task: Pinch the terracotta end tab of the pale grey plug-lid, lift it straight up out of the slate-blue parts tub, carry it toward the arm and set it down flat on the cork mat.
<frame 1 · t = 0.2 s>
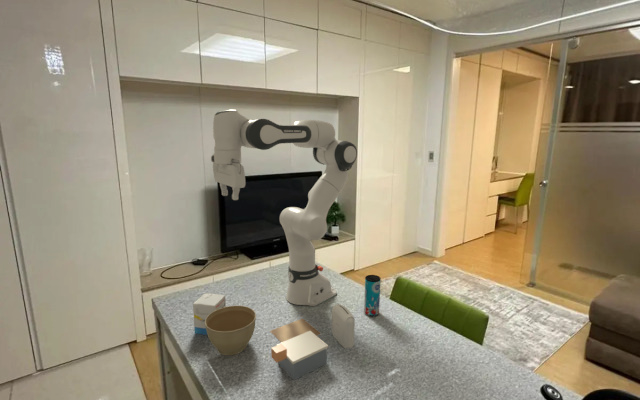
hand: (229, 197, 117), 48 cm above the table, fingers open, 8 cm apart
tub: (302, 364, 103), on the table
planter bowl: (232, 347, 111), on the table
beverage can: (371, 313, 133), on the table
lid: (302, 347, 102), point 6 cm above the table, touching tub
photo printer: (342, 341, 115), on the table
part a: (307, 356, 106), point 1 cm above the table, touching tub
part b: (296, 369, 100), point 1 cm above the table, touching tub
ink box: (211, 328, 122), on the table
mat: (295, 333, 119), on the table
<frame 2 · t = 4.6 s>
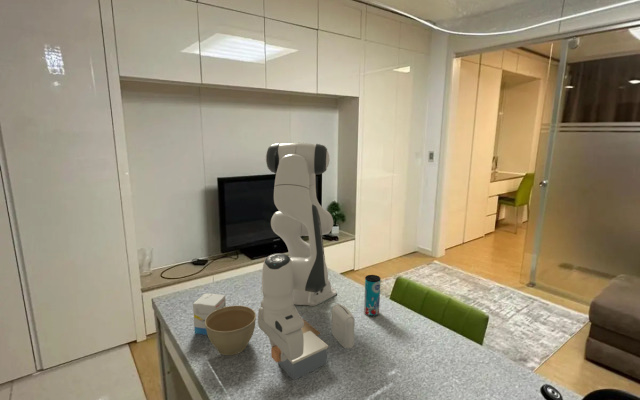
hand: (279, 355, 97), 7 cm above the table, fingers closed on lid, 3 cm apart
lid: (302, 347, 102), point 6 cm above the table, touching gripper, tub
everything else where it was.
when the fingers open (4 cm above the table, at t = 10.6 s): lid drops 2 cm, resting on mat.
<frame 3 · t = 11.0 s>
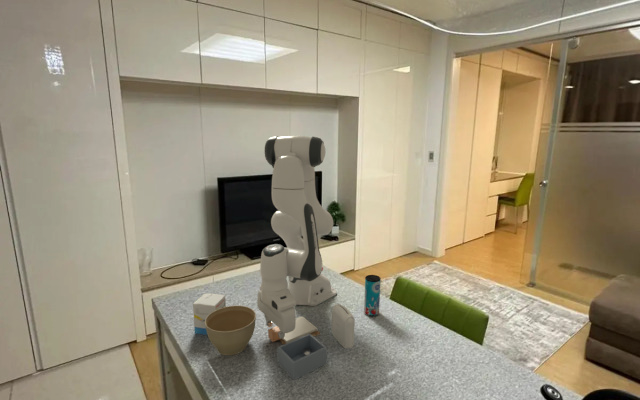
hand: (275, 331, 113), 4 cm above the table, fingers open, 7 cm apart
lid: (294, 329, 118), point 2 cm above the table, touching mat
everything else where it was.
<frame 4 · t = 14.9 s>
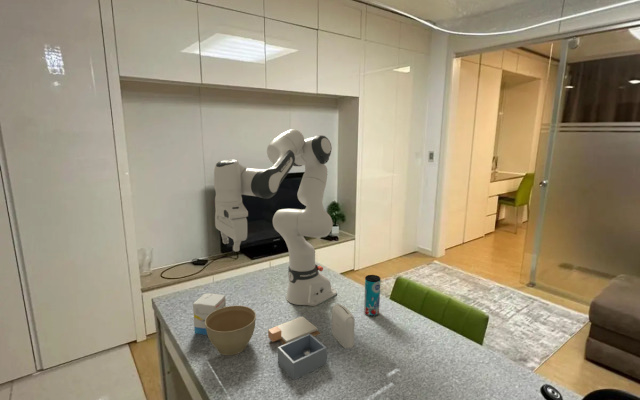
hand: (230, 247, 116), 31 cm above the table, fingers open, 8 cm apart
nothing on the table moved.
at the end: lid inside the target area on the mat (0.2 cm from its centre), point 1.6 cm above the mat's base; lid touching mat; lid tilted 0° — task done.
